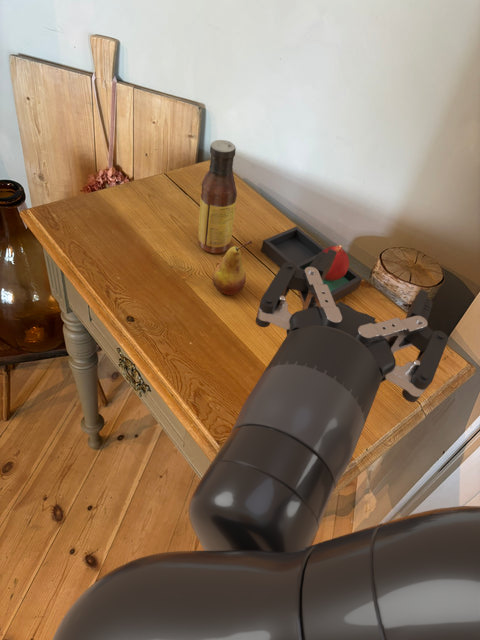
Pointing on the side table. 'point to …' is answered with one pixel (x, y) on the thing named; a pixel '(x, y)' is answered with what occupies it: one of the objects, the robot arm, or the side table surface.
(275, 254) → the tray
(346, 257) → the onion
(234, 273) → the fruit
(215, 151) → the sauce bottle
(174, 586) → the robot arm
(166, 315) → the side table surface
